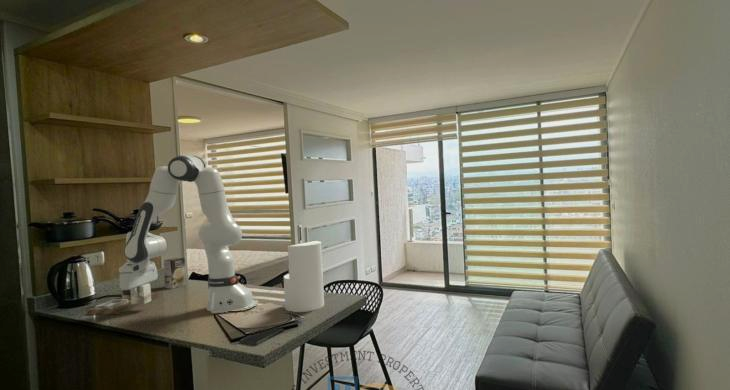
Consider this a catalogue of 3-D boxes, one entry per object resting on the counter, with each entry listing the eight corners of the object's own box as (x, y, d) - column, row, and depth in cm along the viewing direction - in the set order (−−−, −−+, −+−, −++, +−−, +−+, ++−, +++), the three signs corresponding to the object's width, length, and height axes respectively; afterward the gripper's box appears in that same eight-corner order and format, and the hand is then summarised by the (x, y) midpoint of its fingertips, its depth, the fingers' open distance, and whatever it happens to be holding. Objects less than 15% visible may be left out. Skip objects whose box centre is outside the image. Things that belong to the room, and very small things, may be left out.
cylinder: (332, 303, 173) (329, 241, 172) (305, 314, 158) (302, 247, 158) (304, 298, 182) (301, 240, 182) (276, 308, 168) (273, 245, 168)
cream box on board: (157, 296, 199) (156, 269, 199) (117, 314, 171) (116, 282, 171) (131, 297, 200) (129, 270, 200) (87, 314, 172) (85, 283, 172)
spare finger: (151, 300, 177) (150, 283, 177) (144, 303, 172) (143, 286, 172) (137, 301, 178) (136, 284, 178) (130, 304, 173) (129, 286, 173)
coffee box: (172, 289, 214) (171, 260, 214) (164, 288, 217) (163, 260, 217) (186, 285, 223) (184, 257, 223) (178, 284, 225) (176, 257, 225)
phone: (284, 328, 140) (255, 344, 127) (284, 331, 140) (255, 347, 127) (268, 326, 144) (238, 340, 131) (268, 329, 144) (238, 343, 131)
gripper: (148, 260, 185) (150, 288, 186) (115, 269, 165) (117, 301, 165) (160, 259, 185) (162, 288, 185) (128, 269, 164) (131, 301, 165)
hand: (141, 294), depth 175 cm, fingers closed on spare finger, 4 cm apart
